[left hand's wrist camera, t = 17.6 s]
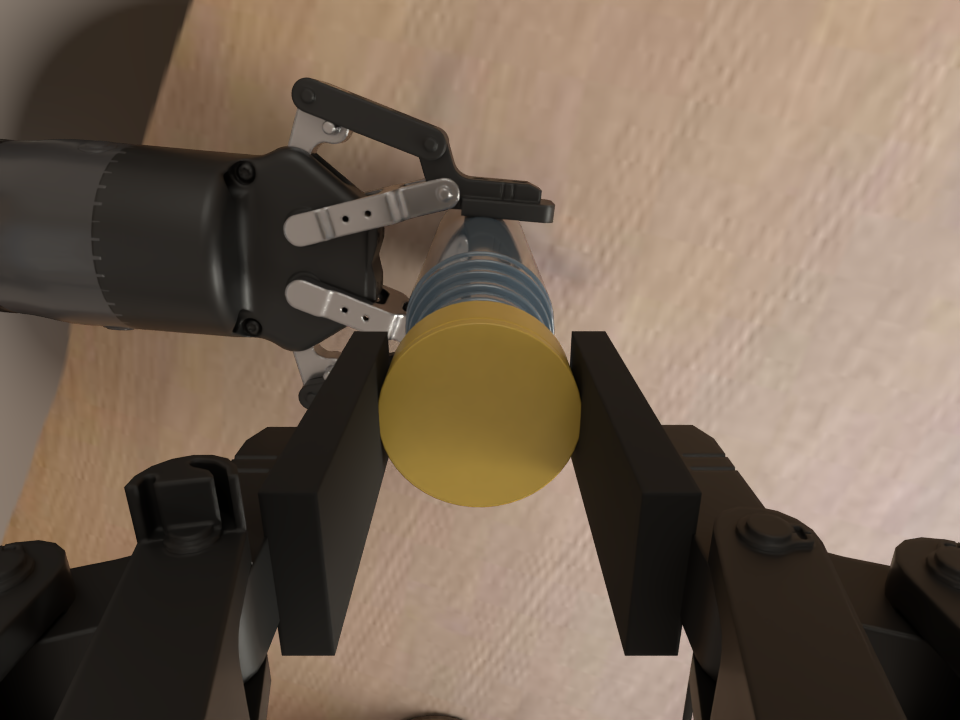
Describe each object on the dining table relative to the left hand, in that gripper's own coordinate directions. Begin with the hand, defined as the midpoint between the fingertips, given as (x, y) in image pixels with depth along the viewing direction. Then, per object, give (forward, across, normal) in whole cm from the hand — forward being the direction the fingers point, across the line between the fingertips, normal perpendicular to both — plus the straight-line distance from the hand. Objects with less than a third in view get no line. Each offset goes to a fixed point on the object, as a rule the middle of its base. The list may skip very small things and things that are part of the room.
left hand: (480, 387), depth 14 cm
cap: (-1, 0, 0) cm, 1 cm away
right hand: (+13, -3, 0) cm, 13 cm away
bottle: (+19, 0, 0) cm, 19 cm away
